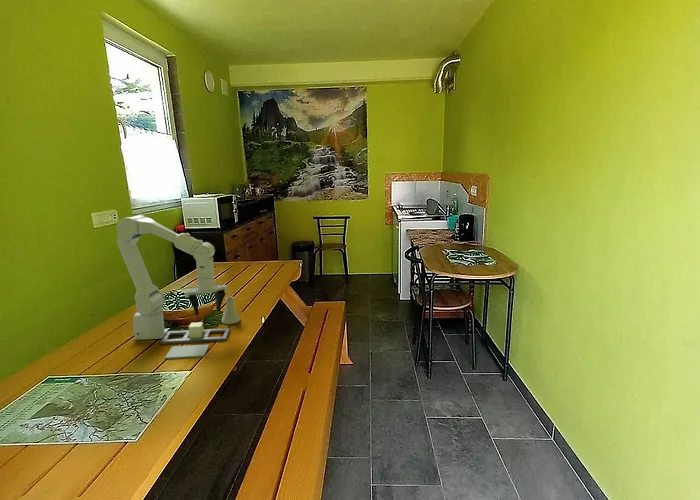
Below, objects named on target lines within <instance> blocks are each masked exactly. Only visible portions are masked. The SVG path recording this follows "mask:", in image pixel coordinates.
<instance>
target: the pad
mask: <svg viewBox="0 0 700 500" xmlns="http://www.w3.org/2000/svg"><path fill="white" fill-rule="evenodd" d="M209 348H210V344H194V345H193V344H192V345H179V346H178V345H174V346H173V345H172V347H171V348H170V349H169V351H168V352H167V354H166V355H165V357H164V359H165V360H176V359H191V358H195V359H196V358H204V357H205V356H206V354H207V351H208V349H209Z"/></svg>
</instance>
